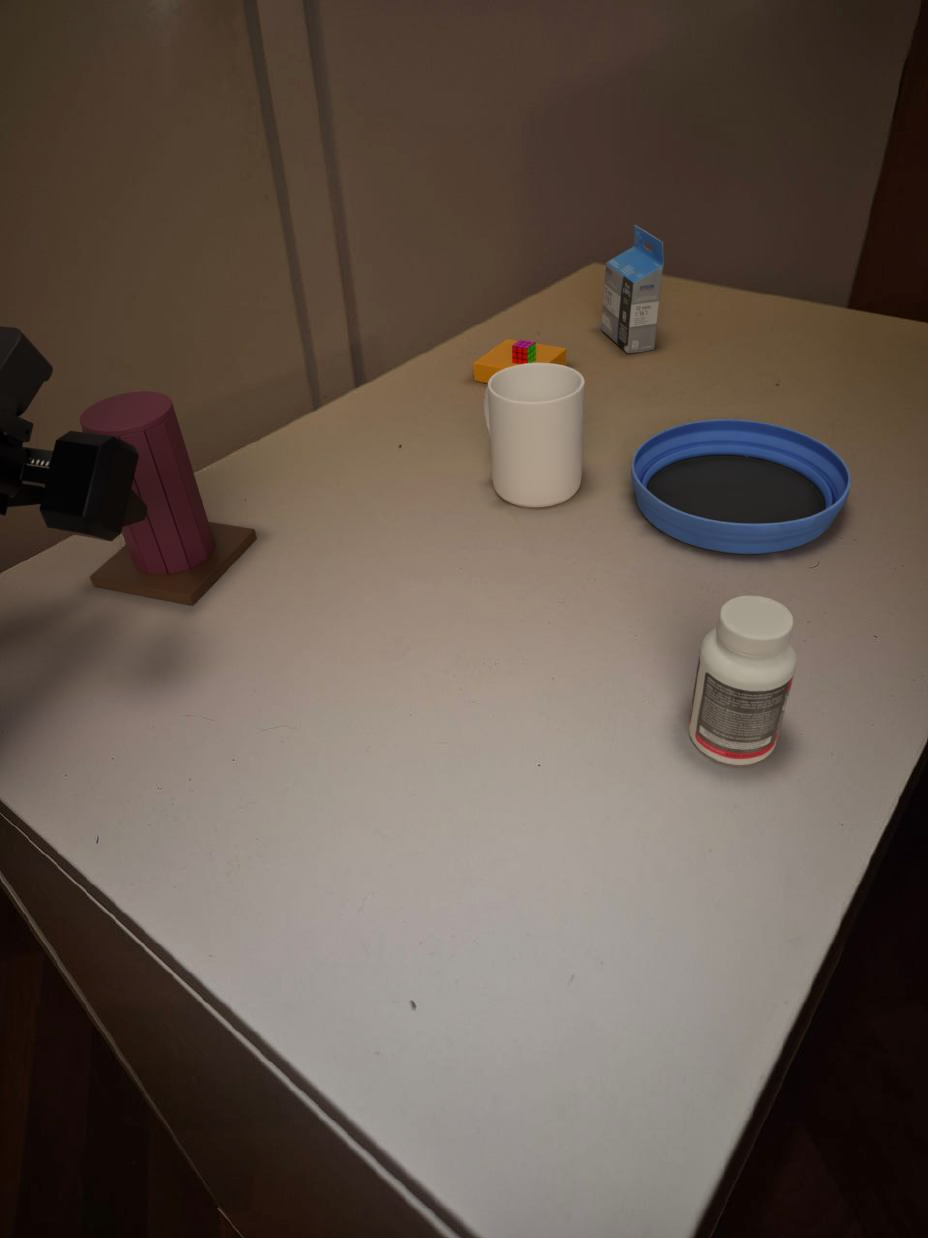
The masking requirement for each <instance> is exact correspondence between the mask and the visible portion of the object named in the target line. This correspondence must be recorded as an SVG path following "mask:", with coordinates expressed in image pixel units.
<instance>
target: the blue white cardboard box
mask: <svg viewBox="0 0 928 1238" xmlns="http://www.w3.org/2000/svg"><path fill="white" fill-rule="evenodd" d="M645 243H646V244H648V243H649V246H650V247H652V250H653V251H652V250H651V249H649V248H647V247H646V246H645ZM664 264H665V261H664V242H663V241H662V240H660V239H659V238H657V237H656V236H654V235H653V234H651V233H650V232H648V231H646V230H644V229H643V228H641V227H639V226H638V225H636V224H634V225H633V246H631V247H630V248H628V249H626V250H625V251H623V252H622V253H620V254H618V255H616V256H614V257H613V258H611V259H610V260H608V261H607V262H605V269H604V270H605V271H604V284H603V298H602V310H601V311H602V312H601V323H600V330H601V331H602V332H603V333H604V334H606V335H607V336H608V337H609V338H610V339H611V340H612V341H613V342H614V343H616V344H617V345H618V346H619V347H620V348H621V349H622V350H623V351H625V352H626V353H627V354H632V353H633V354H634V353H642V352H643V353H644V352H649V351H654V350H655V347H656V337H657V336H656V335H657V326H658V318H659V309H660V299H661V289H662V279H663V272H664V266H665V265H664Z"/></svg>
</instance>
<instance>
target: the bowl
mask: <svg viewBox="0 0 928 1238" xmlns="http://www.w3.org/2000/svg"><path fill="white" fill-rule="evenodd" d="M630 479H631V484H632V487H633V490H634V493H635V498H636V503H637V505H638V508H639V510H640V512H641V513H642V514H643V516H644V517H645V518H646V519H647V520H648V521H649V522H650V523H651V525H653V526H654V527H655V528H656V529H658V530H659V531H661V533H664V534H665V535H667V536H669V537H672V538H673V539H676V540H677V541H680V542H681V543H685V544H687V545H691V546H693V547H696V548H701V549H705V550H709V551H713V552H720V553H725V554H736V555H762V554H771V553H773V554H774V553H779V552H783V551H789V550H792V549H796V548H799V547H801V546H804V545H807V544H808V543H811V542H812V541H814V540H816V539H817V538H818V537H820V536H822V535H823V534H824V533H825V532H826V531H827V530H828V529H829V528H830V527H831V525H832V524H833V522H834V520H835V518H836V516H837V515H838V514H839V513H840V511H841V510H842V508H843V506H844V505H845V503H846V502H847V500H848V497H849V494H850V490H851V484H852V475H851V472H850V469H849V467H848V465H847V463H846V462H845V460H844V459H843V458H842V457H841V456H840V455H839V454H838V453H837V452H836V451H835V450H833V449H832V448H831V447H830V446H828V445H827V444H825V443H824V442H822V441H820V440H819V439H817V438H815V437H813V436H810V435H808V434H806V433H803V432H801V431H798V430H795V429H793V428H789V427H786V426H783V425H778V424H774V423H769V422H764V421H757V420H751V419H739V418H738V419H737V418H717V419H716V418H715V419H705V420H703V419H702V420H696V421H691V422H690V421H689V422H686V423H682V424H678V425H674V426H672V427H669V428H666V429H663V430H662V431H659V432H657V433H656V434H654V435H652V436H650V437H649V438H647V439H646V440H645V441H644V442H642V443H641V444H640V445H639V446H638V448H637V449H635V452H634V453H633V455H632V460H631V467H630Z"/></svg>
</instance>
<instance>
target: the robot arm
mask: <svg viewBox="0 0 928 1238" xmlns="http://www.w3.org/2000/svg"><path fill="white" fill-rule="evenodd" d="M53 372H54V367H53V365H52V364H51V363H50V362H49V361H48V359H47V358H45V356H44V355H43V354H42V353H41V352H40V351H39V349H38V348H37V347H36V346H35V345H34V344H33V343H32V341H30V339H29V338H28V337H27V336H26V335H25V334H24V332H23V331H22V330H21V329H19V328H17V327H12V326H0V516H4V517H6V516H7V512H8V509H9V508H15V507H27V506H36V505H39V512H40V515H41V517H42V519H43V521H44V523H45V526H46V528H48V529H51V530H55V531H57V532H62V533H66V534H70V535H75V536H78V537H85V538H89V539H96V540H101V541H105V542H106V541H107V542H113V541H114V540H116V539H118V537H119V536H120V535H122V532H121V531H122V527H125V526H128V525H131V524H134V523H137V522H140V521H143V520H145V517H146V513H147V509H148V507H147V505H146V504H145V503H144V502H143V500H142V499H141V498H140V497H139V496H138V495H137V494H136V493H135V492H134V491H133V490H132V489H131V488H132V484H133V480H134V475H135V471H136V467H137V463H138V458H139V454H138V452H137V451H136V449H135V447H134V446H133V445H131V444H129V443H127V442H125V441H123V440H120V439H118V438H116V437H114V436H107V435H100V434H92V433H84V432H82V431H77V430H76V431H75V430H69V431H67V432H66V433H64V434H63V435H61V436H60V437H58V438H57V439H55V441H54V446H53V450H47V449H42V448H34V447H28V446H23V445H24V443H26V444H27V443H30V441H31V437H32V433H33V429H34V425H35V423H33V422H32V421H29V420H27V419H25V418H23V417H20V416H22V415H23V414H25V412H26V411H27V410H28V408H29V407H30V405H31V404H32V402H33V401H34V399H35V398H36V395H37V394H38V392H39V390H40V389H41V387H42V386H43V384H44V383H46V382H48V381H49V380H50V379H51V377H52V375H53Z"/></svg>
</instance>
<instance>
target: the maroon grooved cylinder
mask: <svg viewBox="0 0 928 1238" xmlns="http://www.w3.org/2000/svg"><path fill="white" fill-rule="evenodd" d="M79 423H80V426H81V432H84V433H92V434H100V435H107V436H114V437H116V438H118V439H120V440H123V441H125V442H127V443H129V444H131V445H133V446H134V447H135V449H136V451H137V452H138V454H139V458H138V463H137V467H136V471H135V475H134V480H133V484H132V488H131V489H132V490H133V491H134V492H135V493H136V494H137V495H138V496H139V497H140V498H141V499H142V500H143V502H144V503H145V504H146V505H147V507H148V509H147V513H146V517H145V520H143V521H140V522H137V523H134V524H131V525H128V526H125V527H122V531H121V535H122V538H123V540H124V542H125V543H124V544H125V545H127V548H128V550H129V553H130V556H131V558H132V561H133V563H134V566H135V567H136V568H137V569H139V570H141V571H143V572H145V573H147V574H148V573H149V574H156V575H168V574H169V575H170V574H174V573H177V572H181V571H185V570H189V569H190V568H193V567H195V566H196V565H198V564H200V563H201V562H203V561H204V560H206V559H207V558H208V557H209V556H210V554H211V553H212V551H213V550H214V548H215V546H216V545H215V541H214V538H213V535H212V531H211V528H210V525H209V522H210V521H209V518H208V515H207V512H206V509H205V505H204V502H203V500H202V496H201V492H200V489H199V486H198V482H197V479H196V476H195V473H194V470H193V466H192V463H191V459H190V456H189V453H188V450H187V447H186V443H185V440H184V437H183V436H184V435H183V433H182V429H181V426H180V424H179V419H178V417H177V413H176V410H175V408H174V404H173V401H172V399H171V398H170V397H169V396H168V395H167V394H164V393H162V392H157V391H149V390H145V391H144V390H142V391H141V390H140V391H131V392H130V391H129V392H125V393H120V394H115V395H113V396H110V397H107V398H103V399H101V400H99V401H97V402H95V403H94V404H91V405H90V406H88V407H87V408H86V409H84V410H83V411H82V413H81V414H80V415H79Z"/></svg>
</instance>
